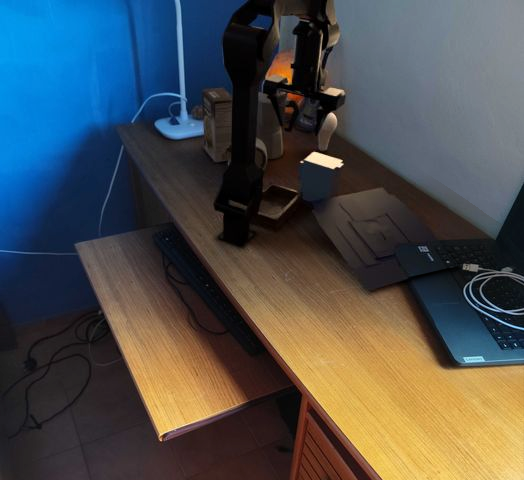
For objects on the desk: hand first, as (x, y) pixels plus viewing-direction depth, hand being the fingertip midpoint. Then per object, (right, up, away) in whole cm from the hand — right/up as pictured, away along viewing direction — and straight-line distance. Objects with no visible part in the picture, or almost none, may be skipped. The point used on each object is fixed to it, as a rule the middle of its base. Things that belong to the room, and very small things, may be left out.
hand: (299, 130), depth 112 cm
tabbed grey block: (+5, -14, +7) cm, 17 cm away
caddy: (-6, -19, +2) cm, 20 cm away
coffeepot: (-6, +4, +23) cm, 25 cm away
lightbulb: (+9, +6, +26) cm, 28 cm away
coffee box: (-21, +3, +21) cm, 30 cm away
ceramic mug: (-13, -3, +16) cm, 21 cm away
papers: (+17, -28, -5) cm, 33 cm away
